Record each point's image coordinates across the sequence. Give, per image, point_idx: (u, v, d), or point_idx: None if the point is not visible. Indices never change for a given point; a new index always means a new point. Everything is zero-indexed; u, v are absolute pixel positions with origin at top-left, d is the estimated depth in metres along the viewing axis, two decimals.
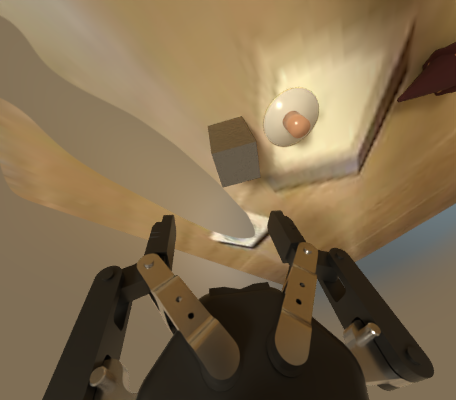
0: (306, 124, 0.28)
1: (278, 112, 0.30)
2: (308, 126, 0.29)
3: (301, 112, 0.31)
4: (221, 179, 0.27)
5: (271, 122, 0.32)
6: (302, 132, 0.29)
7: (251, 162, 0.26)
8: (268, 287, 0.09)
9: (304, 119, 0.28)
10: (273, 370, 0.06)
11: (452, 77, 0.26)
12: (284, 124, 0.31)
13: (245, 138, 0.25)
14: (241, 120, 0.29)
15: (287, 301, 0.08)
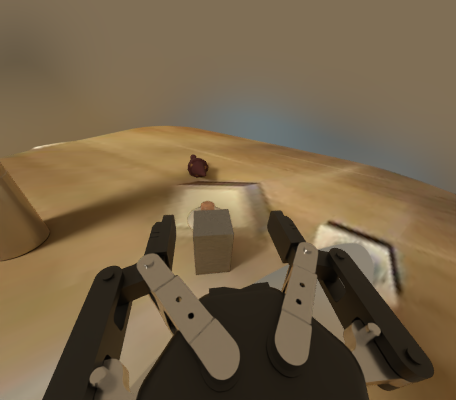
0: (205, 203, 0.42)
1: None
2: (207, 202, 0.43)
3: None
4: (223, 233, 0.27)
5: None
6: (210, 204, 0.42)
7: (211, 213, 0.31)
8: (268, 287, 0.09)
9: (201, 204, 0.42)
10: (273, 370, 0.06)
11: (198, 163, 0.59)
12: None
13: None
14: None
15: (287, 301, 0.08)
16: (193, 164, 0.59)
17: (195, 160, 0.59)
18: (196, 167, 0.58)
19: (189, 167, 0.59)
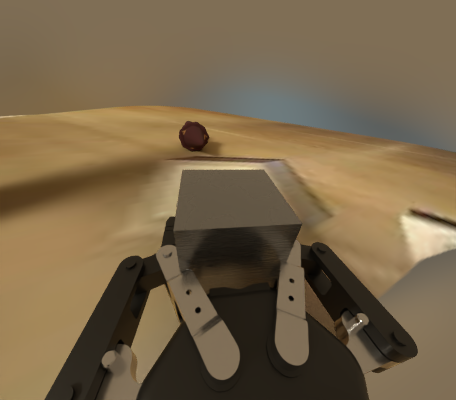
0: None
1: None
2: None
3: None
4: (270, 222, 0.09)
5: None
6: None
7: (225, 176, 0.12)
8: (268, 287, 0.09)
9: None
10: (277, 374, 0.06)
11: (193, 128, 0.41)
12: None
13: None
14: None
15: (287, 301, 0.08)
16: (187, 130, 0.41)
17: (190, 124, 0.41)
18: (191, 133, 0.40)
19: (181, 134, 0.41)
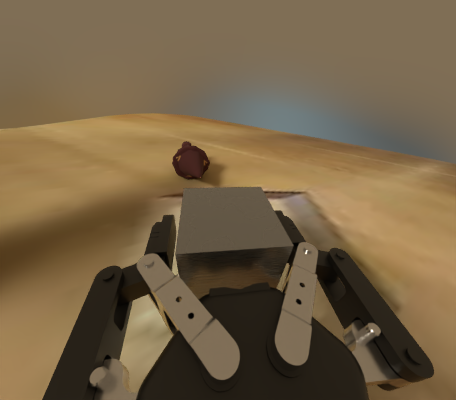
0: None
1: None
2: None
3: None
4: (264, 244, 0.09)
5: None
6: None
7: (224, 194, 0.13)
8: (268, 287, 0.09)
9: None
10: (273, 370, 0.06)
11: (190, 154, 0.33)
12: None
13: None
14: None
15: (287, 301, 0.08)
16: (182, 156, 0.33)
17: (186, 149, 0.33)
18: (186, 161, 0.32)
19: (175, 161, 0.34)
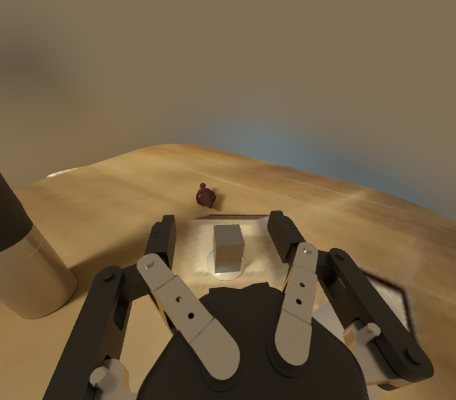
0: None
1: None
2: None
3: None
4: (237, 243, 0.38)
5: (225, 274, 0.43)
6: None
7: (226, 228, 0.41)
8: (268, 287, 0.09)
9: None
10: (273, 370, 0.06)
11: (205, 194, 0.62)
12: None
13: None
14: (213, 249, 0.46)
15: (287, 301, 0.08)
16: (201, 195, 0.62)
17: (203, 191, 0.62)
18: (203, 198, 0.61)
19: (197, 197, 0.63)
